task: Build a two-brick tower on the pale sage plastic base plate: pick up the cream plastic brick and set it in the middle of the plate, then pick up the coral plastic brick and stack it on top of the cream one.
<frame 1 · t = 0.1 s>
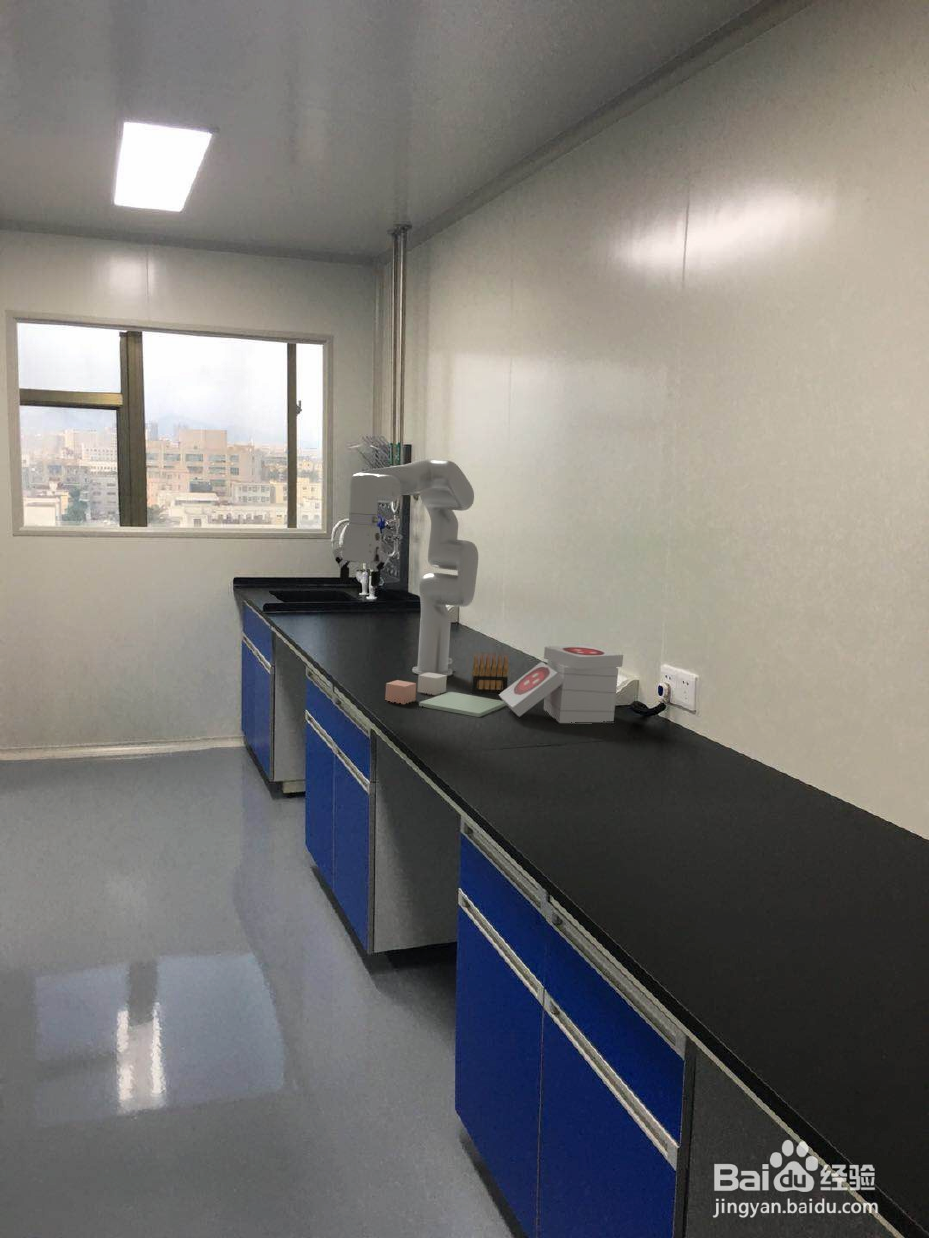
hand: (359, 584, 266), 31 cm above the worktop, tool pointing down, fingers open, 9 cm apart
base plate: (463, 705, 269), on the worktop
pizza boxes: (558, 717, 264), on the worktop
ammunition clip: (488, 693, 287), on the worktop
cream brick: (431, 692, 283), on the worktop
coral brick: (400, 701, 270), on the worktop
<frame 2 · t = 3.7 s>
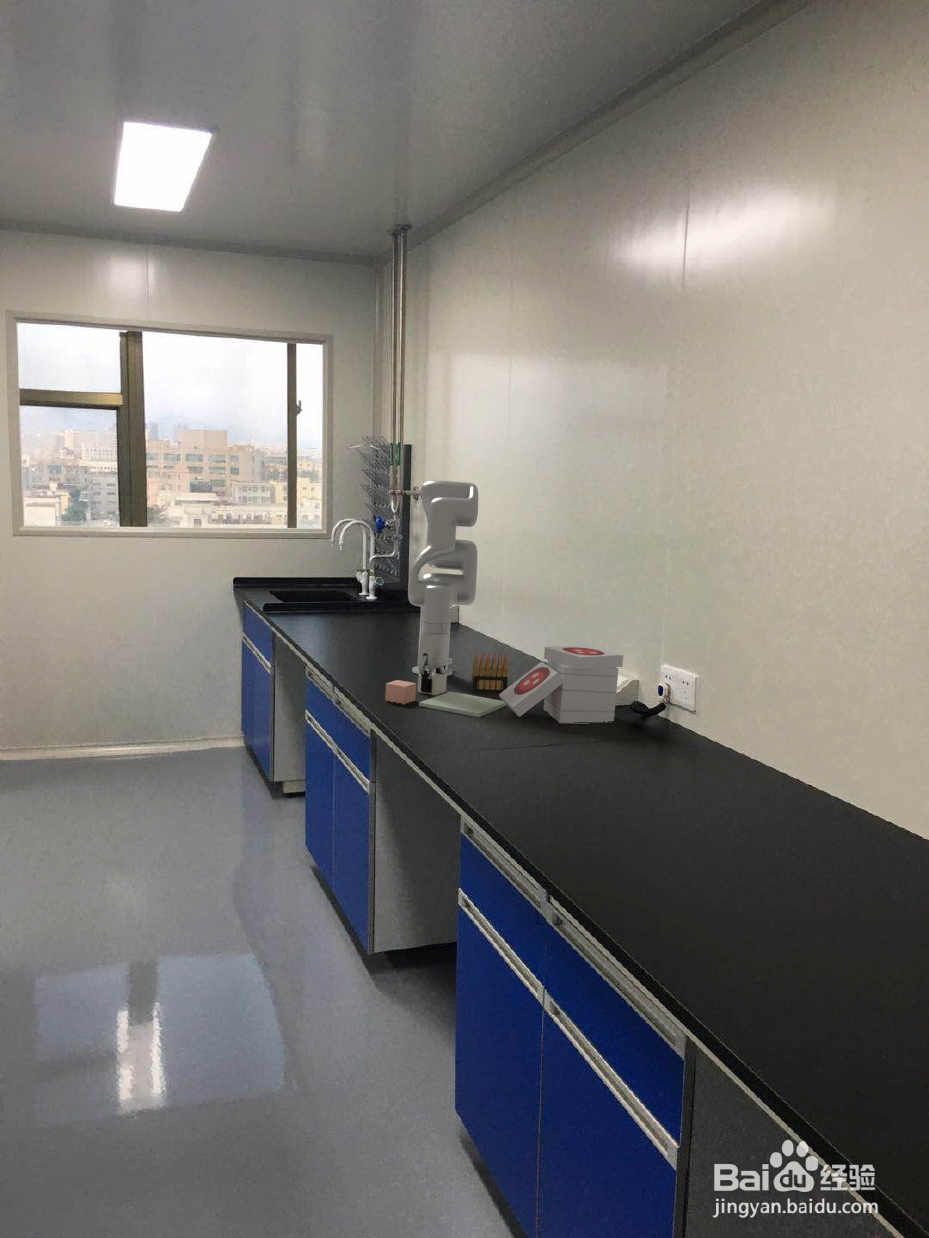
hand: (431, 689, 283), 1 cm above the worktop, tool pointing down, fingers closed on cream brick, 6 cm apart
cream brick: (431, 691, 283), on the worktop, touching gripper
everything else where it was.
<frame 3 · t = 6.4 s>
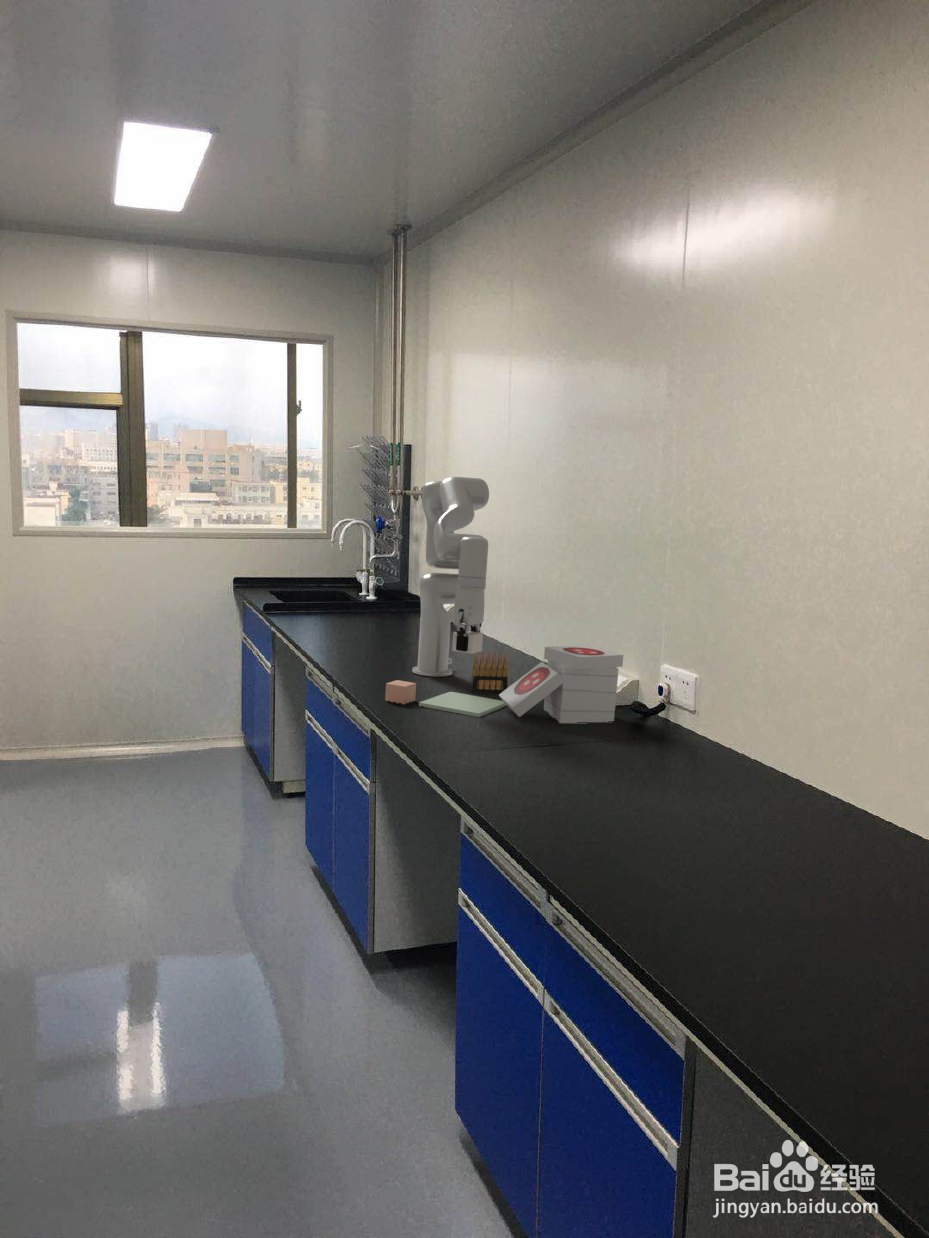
hand: (467, 648, 267), 16 cm above the worktop, tool pointing down, fingers closed on cream brick, 6 cm apart
cream brick: (467, 650, 267), point 15 cm above the worktop, touching gripper
everything else where it was.
when the fingers open (3 cm above the worktop, at t = 9.3 s): cream brick drops 1 cm, resting on base plate.
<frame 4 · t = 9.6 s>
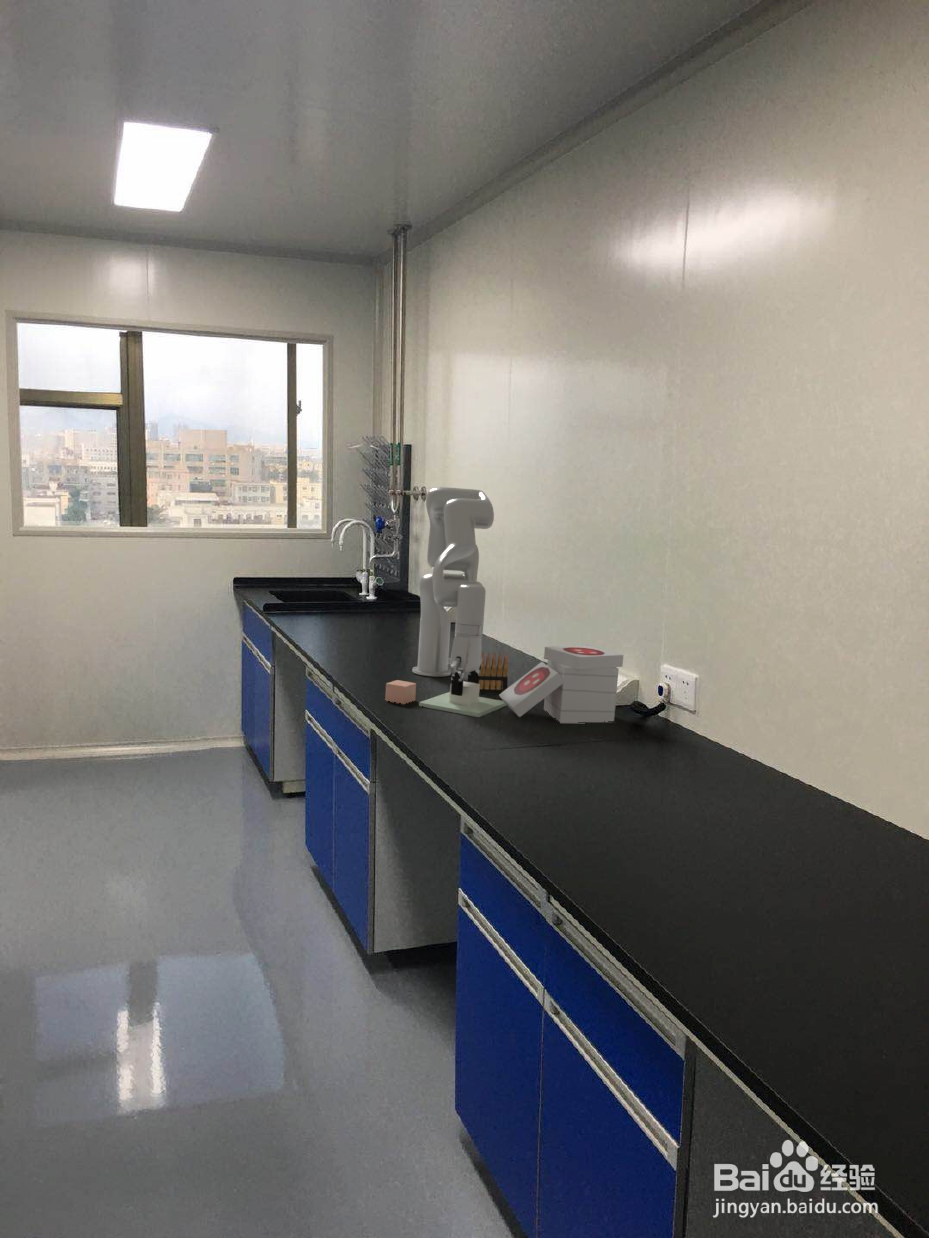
hand: (464, 692, 268), 4 cm above the worktop, tool pointing down, fingers open, 9 cm apart
cream brick: (464, 701, 269), point 1 cm above the worktop, touching base plate
everything else where it was.
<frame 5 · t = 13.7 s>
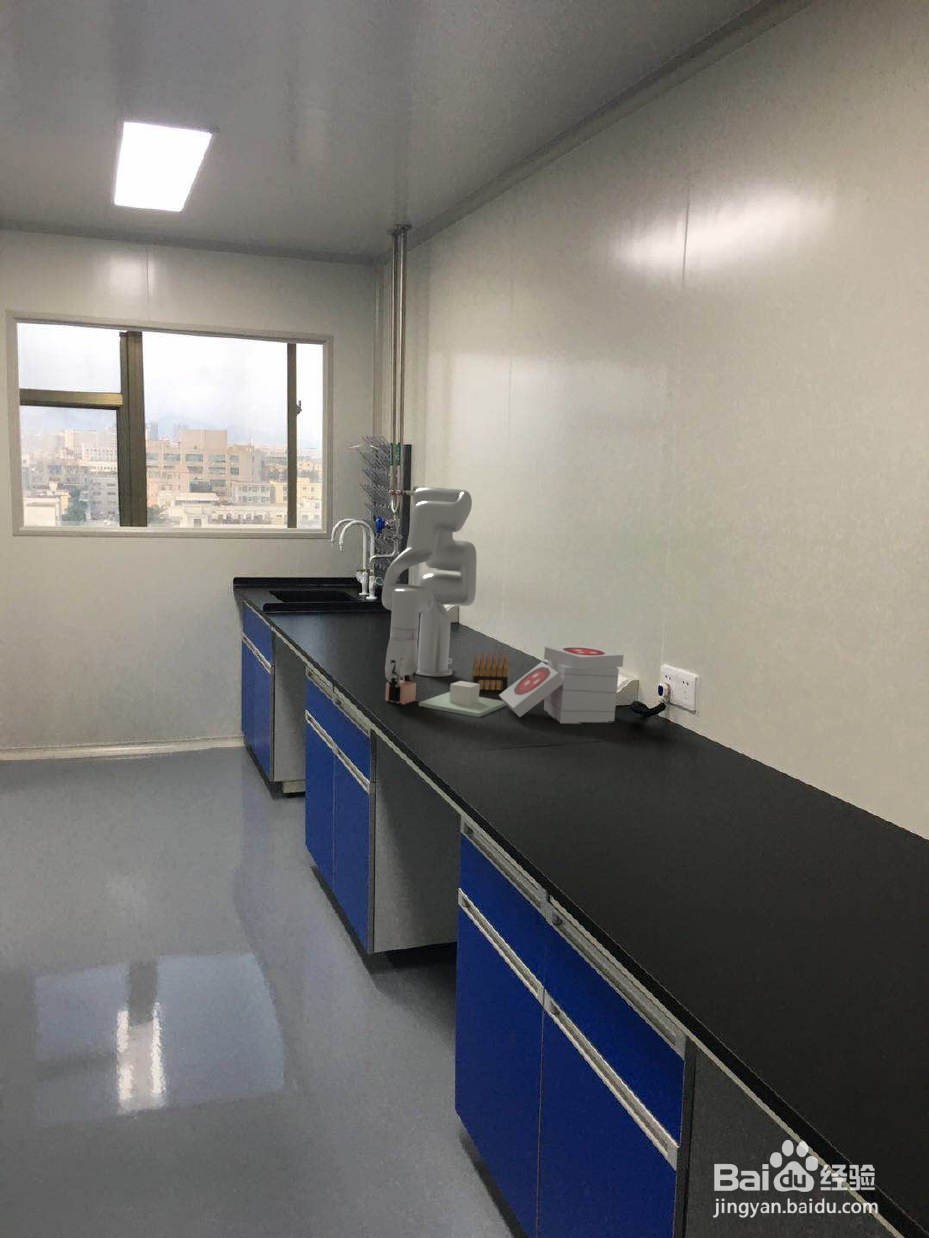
hand: (400, 698, 269), 1 cm above the worktop, tool pointing down, fingers closed on coral brick, 6 cm apart
coral brick: (400, 700, 270), on the worktop, touching gripper
everything else where it was.
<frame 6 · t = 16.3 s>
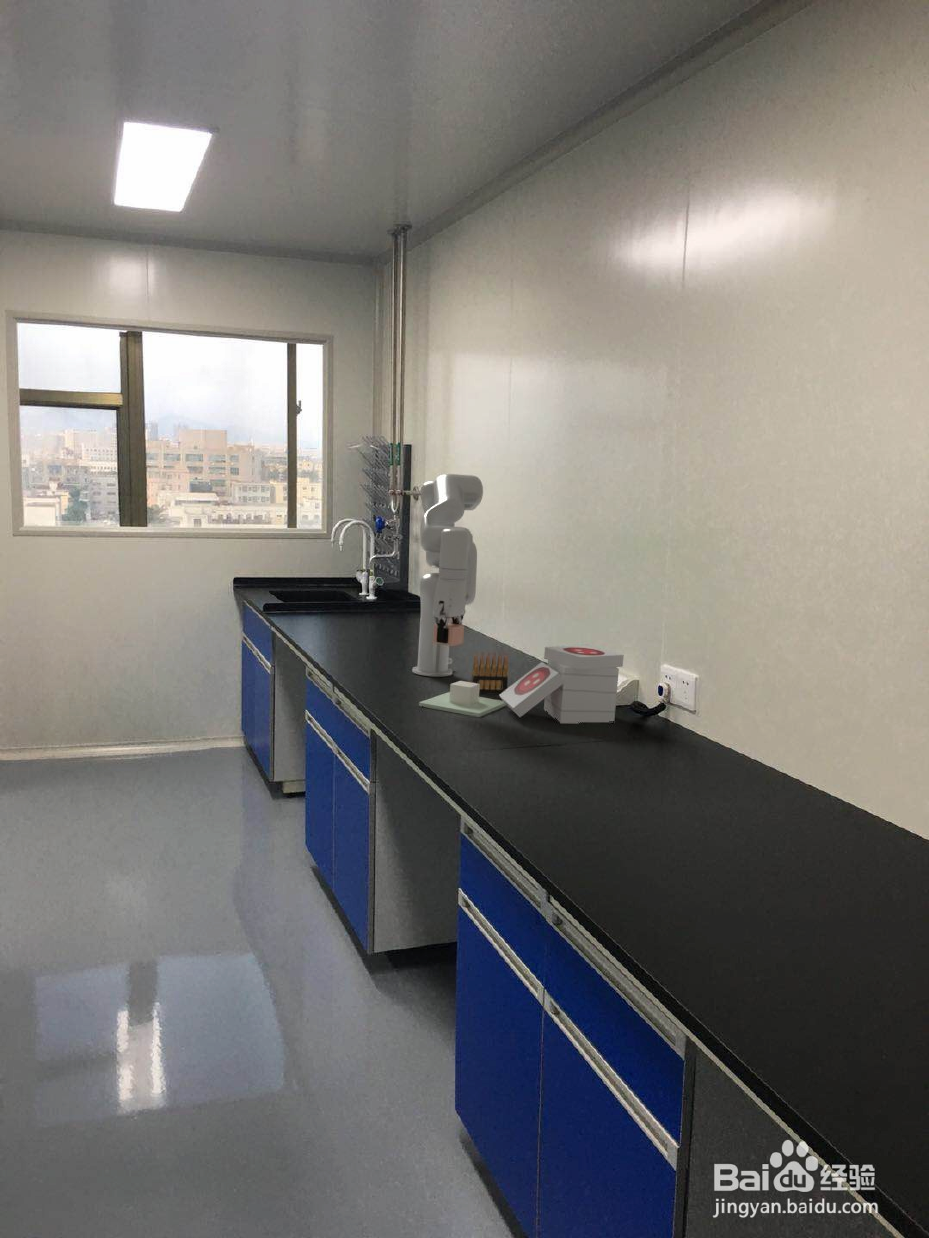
hand: (448, 640, 266), 18 cm above the worktop, tool pointing down, fingers closed on coral brick, 5 cm apart
coral brick: (448, 643, 267), point 17 cm above the worktop, touching gripper
everything else where it was.
when the fingers open (8 cm above the worktop, at t = 19.0 s): coral brick drops 1 cm, resting on cream brick.
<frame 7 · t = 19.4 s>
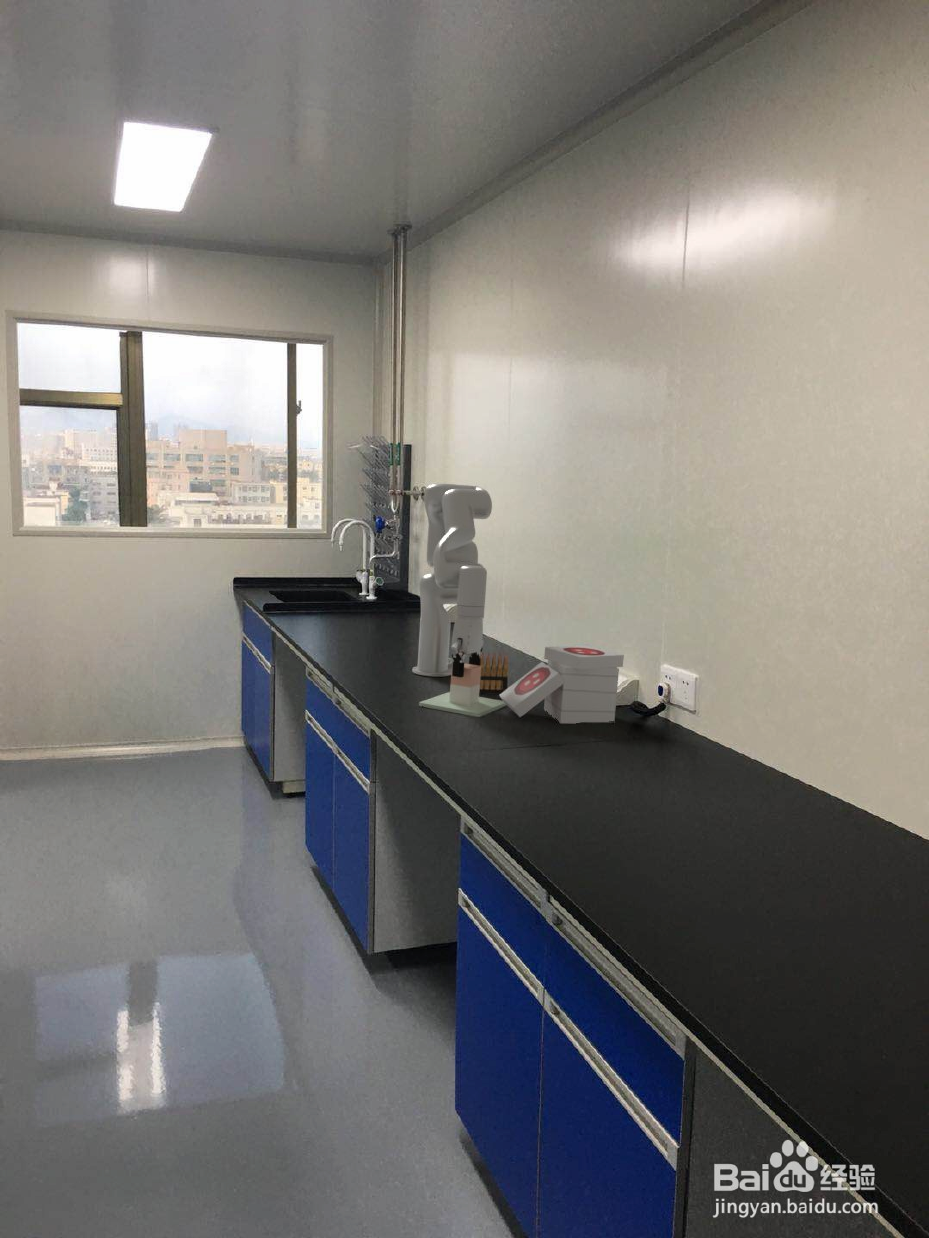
hand: (466, 673, 268), 9 cm above the worktop, tool pointing down, fingers open, 9 cm apart
cream brick: (464, 701, 269), point 1 cm above the worktop, touching base plate, coral brick
coral brick: (465, 684, 268), point 6 cm above the worktop, touching cream brick
everything else where it was.
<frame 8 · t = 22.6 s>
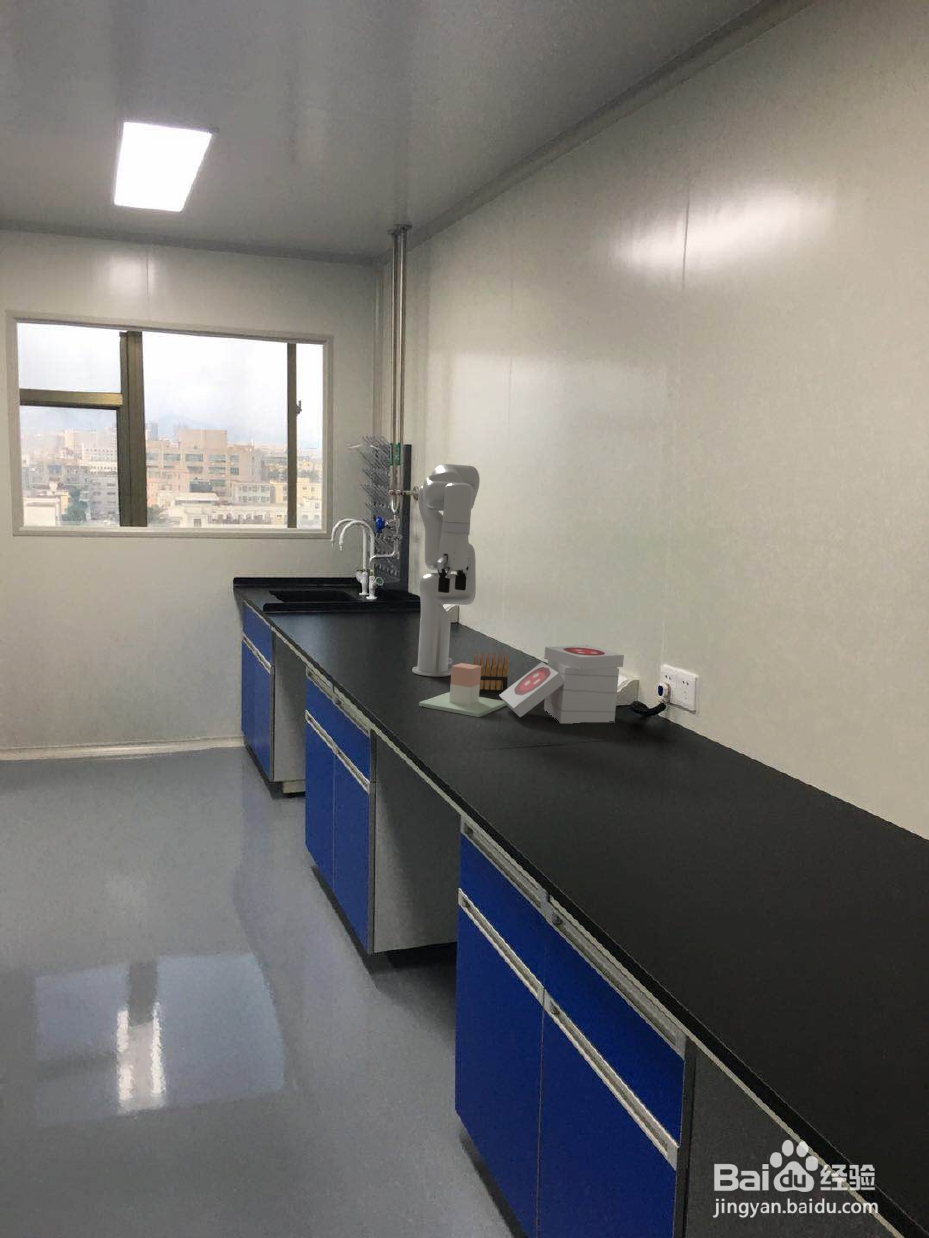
hand: (451, 591, 272), 30 cm above the worktop, tool pointing down, fingers open, 9 cm apart
nothing on the worktop moved.
at the end: cream brick inside the target area on the base plate (0.0 cm from its centre), point 1.0 cm above the base plate's base; coral brick 0.0 cm off-centre on the cream brick, point 5.0 cm above the cream brick's base; coral brick tilted 0° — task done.
